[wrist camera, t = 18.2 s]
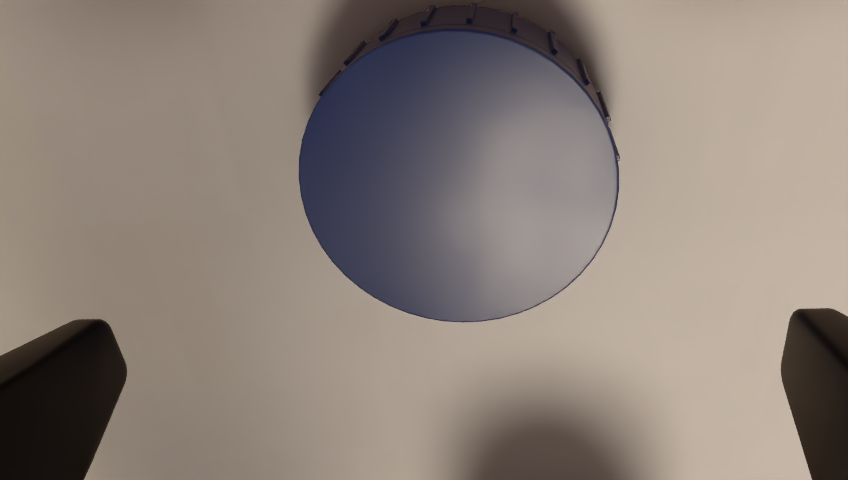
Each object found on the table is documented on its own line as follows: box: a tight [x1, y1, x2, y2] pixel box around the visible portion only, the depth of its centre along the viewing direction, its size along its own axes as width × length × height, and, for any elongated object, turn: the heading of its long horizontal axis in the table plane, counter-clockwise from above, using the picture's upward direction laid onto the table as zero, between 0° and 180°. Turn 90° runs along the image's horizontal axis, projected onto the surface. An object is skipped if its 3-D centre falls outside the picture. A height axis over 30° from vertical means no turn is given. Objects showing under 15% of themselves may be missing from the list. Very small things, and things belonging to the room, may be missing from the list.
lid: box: [299, 3, 620, 322], centre depth 14 cm, size 6×6×2 cm
